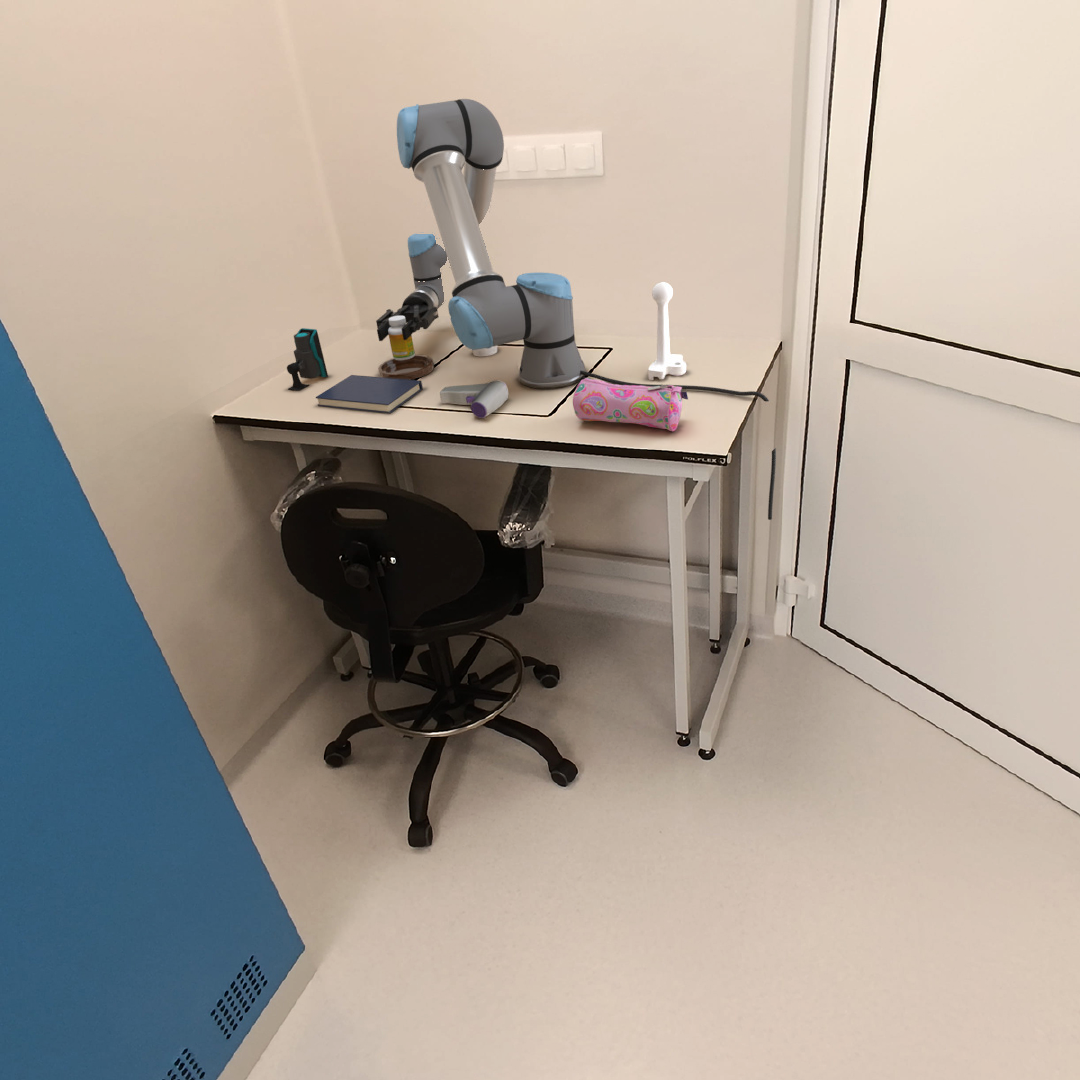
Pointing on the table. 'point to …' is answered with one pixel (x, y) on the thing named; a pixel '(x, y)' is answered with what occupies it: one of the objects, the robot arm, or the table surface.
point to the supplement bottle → (400, 339)
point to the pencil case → (629, 403)
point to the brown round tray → (406, 367)
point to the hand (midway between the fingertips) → (391, 334)
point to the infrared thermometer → (477, 396)
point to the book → (370, 393)
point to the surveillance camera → (307, 358)
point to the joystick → (664, 337)
